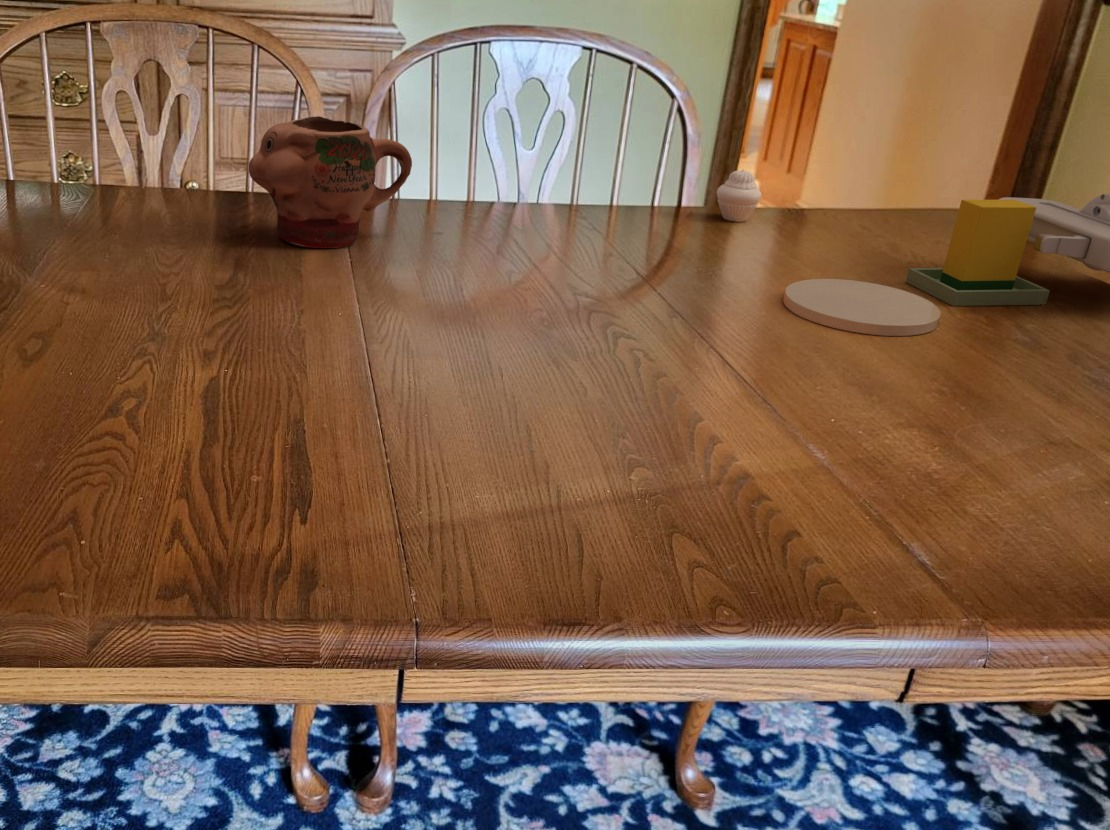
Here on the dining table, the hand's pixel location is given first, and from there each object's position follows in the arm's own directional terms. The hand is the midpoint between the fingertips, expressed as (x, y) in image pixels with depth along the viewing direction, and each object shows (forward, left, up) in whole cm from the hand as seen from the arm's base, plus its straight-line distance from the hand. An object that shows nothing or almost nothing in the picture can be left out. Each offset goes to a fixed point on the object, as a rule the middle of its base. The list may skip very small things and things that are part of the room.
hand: (1010, 232), depth 126 cm
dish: (+2, +1, -7) cm, 8 cm away
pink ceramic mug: (+77, +16, -7) cm, 79 cm away
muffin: (+31, -22, -7) cm, 39 cm away
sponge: (+2, +1, -7) cm, 7 cm away
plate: (+15, +15, -7) cm, 23 cm away
